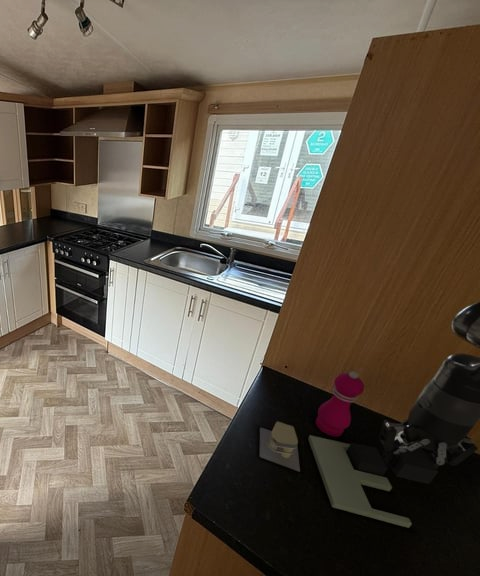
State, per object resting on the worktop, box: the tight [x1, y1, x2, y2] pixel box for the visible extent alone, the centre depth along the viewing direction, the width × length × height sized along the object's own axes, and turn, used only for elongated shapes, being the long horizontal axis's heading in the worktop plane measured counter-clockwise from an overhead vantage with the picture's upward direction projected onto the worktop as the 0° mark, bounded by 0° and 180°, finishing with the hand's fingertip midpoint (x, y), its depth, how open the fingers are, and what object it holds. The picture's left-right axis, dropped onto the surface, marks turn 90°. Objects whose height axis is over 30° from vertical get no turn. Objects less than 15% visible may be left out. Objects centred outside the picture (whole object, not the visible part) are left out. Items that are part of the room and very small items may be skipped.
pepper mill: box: [315, 371, 365, 438], centre depth 83 cm, size 7×7×20 cm
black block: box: [382, 444, 439, 485], centre depth 64 cm, size 5×5×4 cm
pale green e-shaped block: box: [307, 434, 413, 529], centre depth 74 cm, size 14×18×2 cm
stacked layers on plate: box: [259, 421, 301, 473], centre depth 80 cm, size 10×9×6 cm
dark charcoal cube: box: [346, 442, 389, 477], centre depth 77 cm, size 5×5×4 cm
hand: (405, 466), depth 64 cm, fingers closed on black block, 5 cm apart
